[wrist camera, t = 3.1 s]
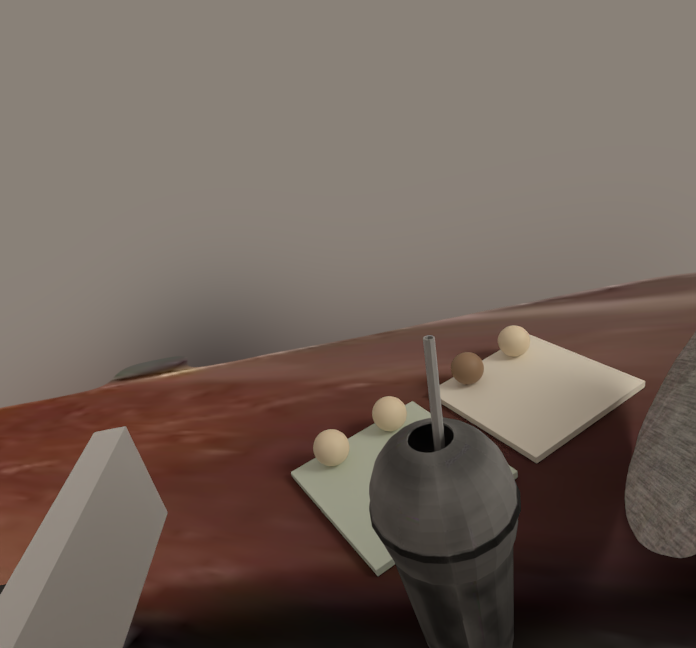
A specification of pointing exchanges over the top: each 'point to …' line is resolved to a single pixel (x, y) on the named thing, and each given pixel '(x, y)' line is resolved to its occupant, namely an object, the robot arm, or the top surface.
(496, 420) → the cream card
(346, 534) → the sage card
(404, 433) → the beverage cup
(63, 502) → the robot arm
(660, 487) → the disc
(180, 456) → the top surface
